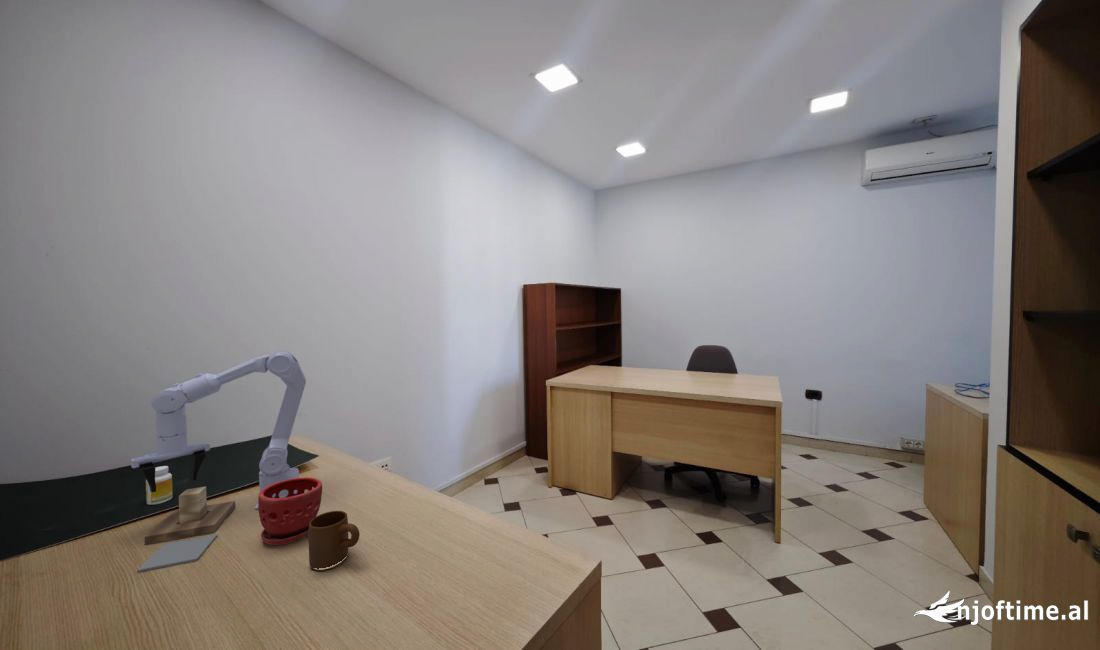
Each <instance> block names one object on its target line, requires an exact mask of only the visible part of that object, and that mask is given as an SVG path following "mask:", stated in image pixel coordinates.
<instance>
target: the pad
mask: <svg viewBox="0 0 1100 650" xmlns="http://www.w3.org/2000/svg"><path fill="white" fill-rule="evenodd" d="M217 538H218V534H212V535H206V536H201V537H197V538H191V539H185V540H178V541H174V542H168V543H164V544H163V545H162V546H161V547H159V549H157V550H156V551H155V552H154V553H153V554H152V555H151V556H150V557H149V558H148V559H147V560H146V561H145V562H144V563H143V564H142V565H140V567H139V568H138V569H136V570H137V571H136V572H137V573H142V572H143V573H144V572H147V571H153V570H157V569H161V568H167V567H172V566H178V565H182V564H187V563H193V562H198V560H200V558H201V557H202V556H203V554H204V553H205V552H206V549H209V548H210V546H211V545H212V543H213V542H214V541H215V540H216V539H217Z"/></svg>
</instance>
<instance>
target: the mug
mask: <svg viewBox="0 0 1100 650" xmlns="http://www.w3.org/2000/svg"><path fill="white" fill-rule="evenodd" d="M348 520H349V519H348V514H347V512H345V511H344V510H331V511H328V512H327V511H326V512H324V513H321V514H317V516H316V517H315V518H313V519H312V520H311V521H310V523H309V531H308V535H307V536H308V537H307V538H308V561H309V562H308V563H309V567H310V566H311V567H312V568H317V569H319V568H326V567H330V566H332V565H335V564H337V563H338V562H340V561H342V560H343V559H344V558H345V557H346V556H347V554H348V555H349V548H352V547H354V546H355V545H356V544H357V543H358V542H359V539H360V530H359V527H358V526H357V525H356V524H353V523H350V522H349V521H348ZM349 533H350V538H349ZM347 557H348V556H347ZM311 567H310V568H311ZM312 568H311V569H312Z"/></svg>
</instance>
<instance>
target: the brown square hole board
mask: <svg viewBox="0 0 1100 650" xmlns="http://www.w3.org/2000/svg"><path fill="white" fill-rule="evenodd" d="M235 509H236V501H234V500H233V501H227V502H220V503H215V504H209V505H208V504H207V515H206V516H205V517H204V518H203V519H202V520H200V521H194V522H188V523H182V524H180V520H179V509H176V510H173V511H172V512H171V513H170V514H168V516H166V517H165V518H164V519H163V520H162V521H160V523H159V524H157V525H156V526H155V527H154V528H153V529H151V530H150V531H149V532H148V533H147V534H146V535H145V536H144V537H143V539H144V541H143V542H144V546H148V545H153V544H160V543H163V542H164V543H165V542H170V541H175V540H181V539H186V538H192V537H197V536H203V535H207V534H209V535H210V534H215V532H216V531H217V530H218V529H219V528H220V527H221V526H222V524H223V523H224V522H225V521H226V520H227V519H228V518H229V516H230V513H231V514H232V513H233V511H235ZM225 519H226V520H225ZM224 520H225V521H224Z"/></svg>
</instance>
